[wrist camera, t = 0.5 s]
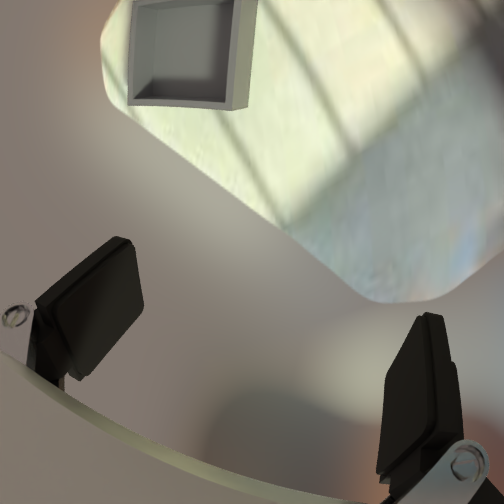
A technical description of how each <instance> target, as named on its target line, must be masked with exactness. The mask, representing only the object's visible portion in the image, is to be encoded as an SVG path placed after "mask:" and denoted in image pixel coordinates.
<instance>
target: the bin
mask: <svg viewBox="0 0 504 504" xmlns="http://www.w3.org/2000/svg"><path fill="white" fill-rule="evenodd" d="M257 5H258V0H137V1H133V9H132V19H131V31H130V46H129V65H128V106H169V107H188V108H203V109H215V110H226V111H234V110H238V109H242V108H247V107H248V99H249V88H250V77H251V66H252V56H253V45H254V35H255V25H256V15H257Z"/></svg>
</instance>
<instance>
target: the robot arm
mask: <svg viewBox="0 0 504 504" xmlns="http://www.w3.org/2000/svg"><path fill="white" fill-rule="evenodd" d="M35 303H36V305H37V309H36V310H34V309H33V307H32V305H30V304H29V303H27V302H17V303H13V304H11V305H9V306H8V307H6V308H5V309H4V310H3V311H2V312H1V314H0V504H366V503H359V502H352V501H346V500H340V499H335V498H329V497H324V496H319V495H314V494H310V493H305V492H301V491H297V490H292V489H288V488H284V487H280V486H276V485H272V484H268V483H265V482H261V481H257V480H255V479H251V478H248V477H245V476H242V475H238V474H235V473H232V472H229V471H226V470H223V469H220V468H218V467H215V466H212V465H209V464H207V463H204V462H201V461H199V460H196V459H194V458H191V457H188V456H186V455H183V454H181V453H179V452H176V451H174V450H172V449H170V448H167V447H165V446H163V445H160V444H158V443H156V442H154V441H152V440H150V439H148V438H145V437H143V436H141V435H139V434H137V433H135V432H133V431H131V430H129V429H127V428H125V427H124V426H122V425H120V424H118V423H116V422H114V421H112V420H110V419H109V418H107V417H105V416H103V415H101V414H100V413H98V412H96V411H94V410H93V409H91V408H89V407H88V406H86V405H84V404H83V403H81V402H79V401H77V400H76V399H75V398H73V397H71V396H70V395H68V394H67V393H65V387H64V386H65V381H64V379H65V378H64V377H65V374H66V373H67V372H68V373H69V375H70V376H71V377H73V378H75V379H76V380H78V381H81V380H82V379H83V378H84V377H85V376H88V375H89V374H91V372H92V371H93V370H94V369H95V368H96V366H97V365H98V364H99V363H100V362H101V360H102V359H103V358H104V357H105V355H106V354H107V353H108V352H109V351H110V350H111V348H112V347H113V346H114V345H115V344H116V342H117V341H118V340H119V339H120V338H121V336H122V335H123V334H124V333H125V332H126V330H128V328H129V327H130V326H131V325H132V324H133V322H134V321H135V320H136V319H137V318H138V317H139V316H140V314H141V313H142V311H143V308H144V301H143V296H142V290H141V284H140V278H139V272H138V265H137V258H136V251H135V247H134V245H132V242H131V241H130V240H129V239H125V238H121V237H118V236H115V237H112V238H111V239H110V240H109V241H108V242H106V243H105V244H103V245H102V246H101V247H100V248H98V249H97V250H96V251H94V252H93V253H92V254H91V255H89V256H88V257H87V258H85V259H84V260H83V261H82V262H81V263H79V264H78V265H77V266H76V267H74V268H73V269H72V270H71V271H69V272H68V273H67V274H66V275H65V276H63V277H62V278H61V279H60V280H59V281H57V282H56V283H55V284H54V285H53V286H51V287H50V288H49V289H48V290H47V291H46V292H45V293H43V294H42V295H41V296H40V297H39V298H38V299H36V300H35ZM488 471H489V458H488V455H487V453H486V451H485V450H484V449H483V447H482V446H481V445H480V444H478V443H477V442H475V441H472V440H464V433H463V419H462V408H461V399H460V390H459V382H458V375H457V368H456V365H455V363H454V362H452V361H451V356H450V349H449V344H448V338H447V333H446V328H445V323H444V318H443V316H442V315H438V314H433V313H429V312H425V313H424V314H423V315H422V316H417V318H416V320H415V322H414V324H413V325H412V327H411V329H410V331H409V333H408V335H407V337H406V339H405V341H404V343H403V345H402V347H401V348H400V350H399V352H398V354H397V356H396V358H395V359H394V361H393V363H392V365H391V367H390V368H389V370H388V372H387V374H386V378H385V385H384V402H383V415H382V425H381V434H380V444H379V451H378V460H377V467H376V473H377V474H379V475H380V481H379V483H381V484H390V487H389V493H390V495H389V496H388V497H387V498H386V499H385V500H383V501H382V502H381V503H380V504H504V496H503V495H502V494H501V493H500V492H499V491H498V489H497V488H496V487H495V486H494V485H493V484H492V483H491V482H490V481H489V479H488V478H487V477H486V476H487V474H488Z"/></svg>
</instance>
